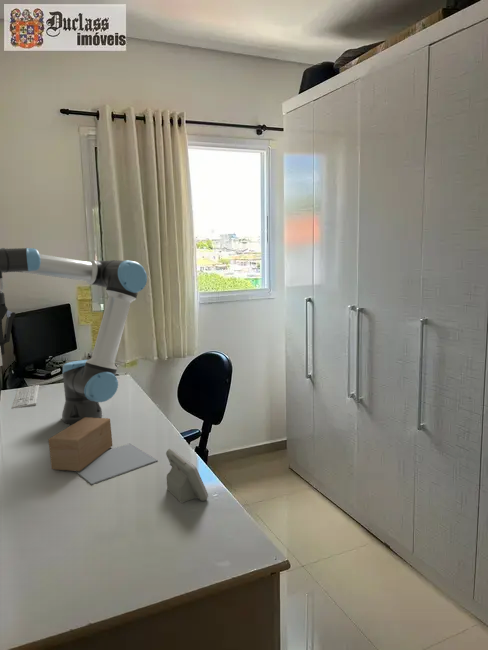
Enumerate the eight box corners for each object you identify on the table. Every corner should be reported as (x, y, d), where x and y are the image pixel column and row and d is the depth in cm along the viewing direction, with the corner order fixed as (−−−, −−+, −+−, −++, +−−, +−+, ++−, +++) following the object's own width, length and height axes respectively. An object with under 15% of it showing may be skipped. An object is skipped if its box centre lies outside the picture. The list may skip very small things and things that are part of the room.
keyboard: (16, 390, 235) (15, 386, 234) (39, 388, 238) (39, 384, 238) (10, 410, 208) (9, 405, 207) (36, 406, 211) (36, 402, 211)
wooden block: (76, 440, 146) (110, 417, 165) (47, 438, 148) (84, 416, 167) (79, 471, 147) (113, 446, 166) (51, 469, 150) (87, 444, 169)
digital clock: (210, 502, 130) (208, 465, 128) (177, 510, 127) (175, 472, 125) (193, 476, 145) (192, 442, 143) (163, 482, 142) (161, 447, 140)
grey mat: (129, 444, 168) (129, 443, 168) (157, 461, 155) (157, 460, 155) (67, 464, 154) (66, 463, 154) (91, 484, 141) (91, 483, 141)
